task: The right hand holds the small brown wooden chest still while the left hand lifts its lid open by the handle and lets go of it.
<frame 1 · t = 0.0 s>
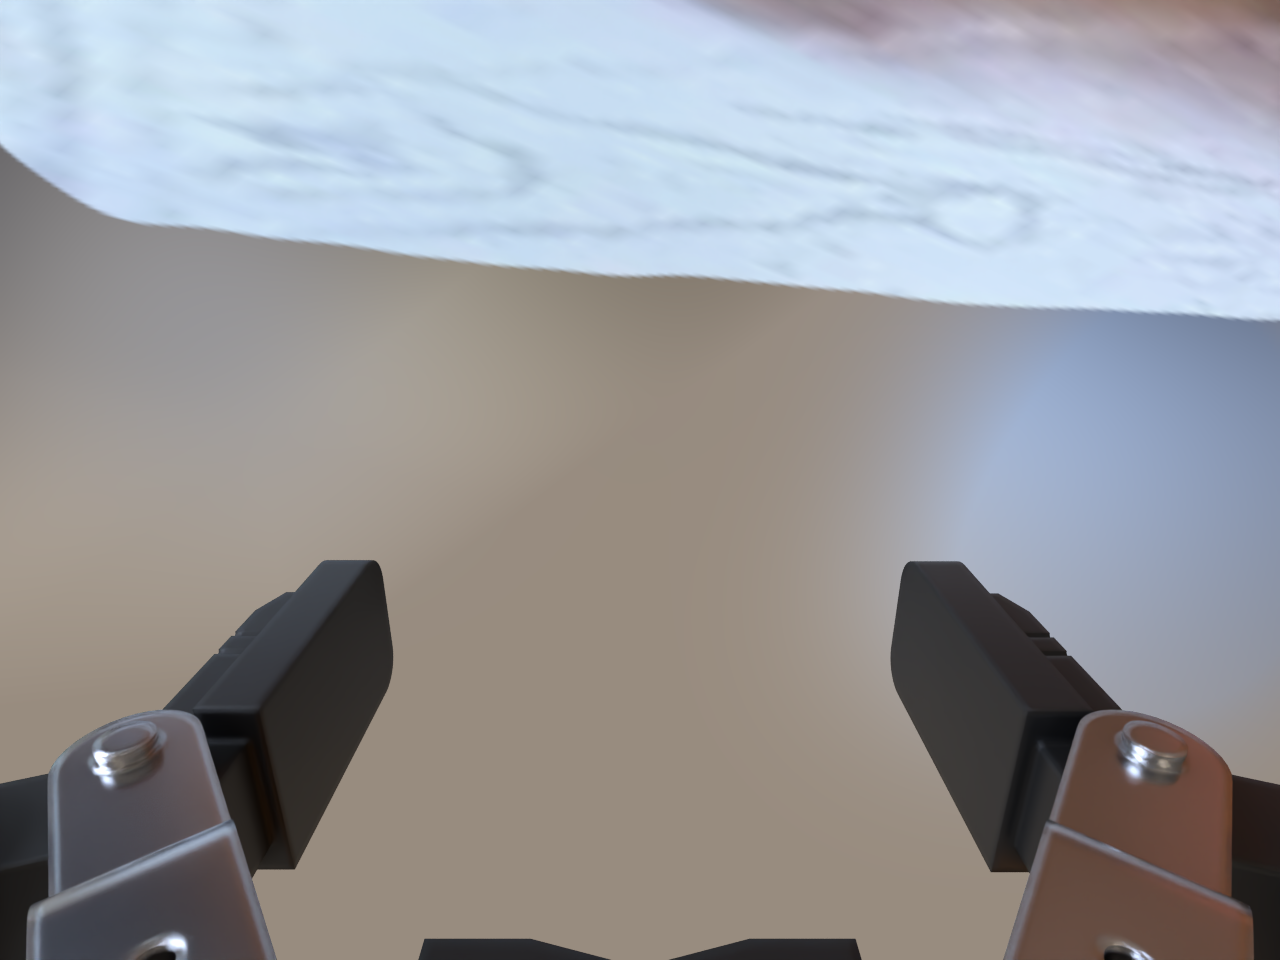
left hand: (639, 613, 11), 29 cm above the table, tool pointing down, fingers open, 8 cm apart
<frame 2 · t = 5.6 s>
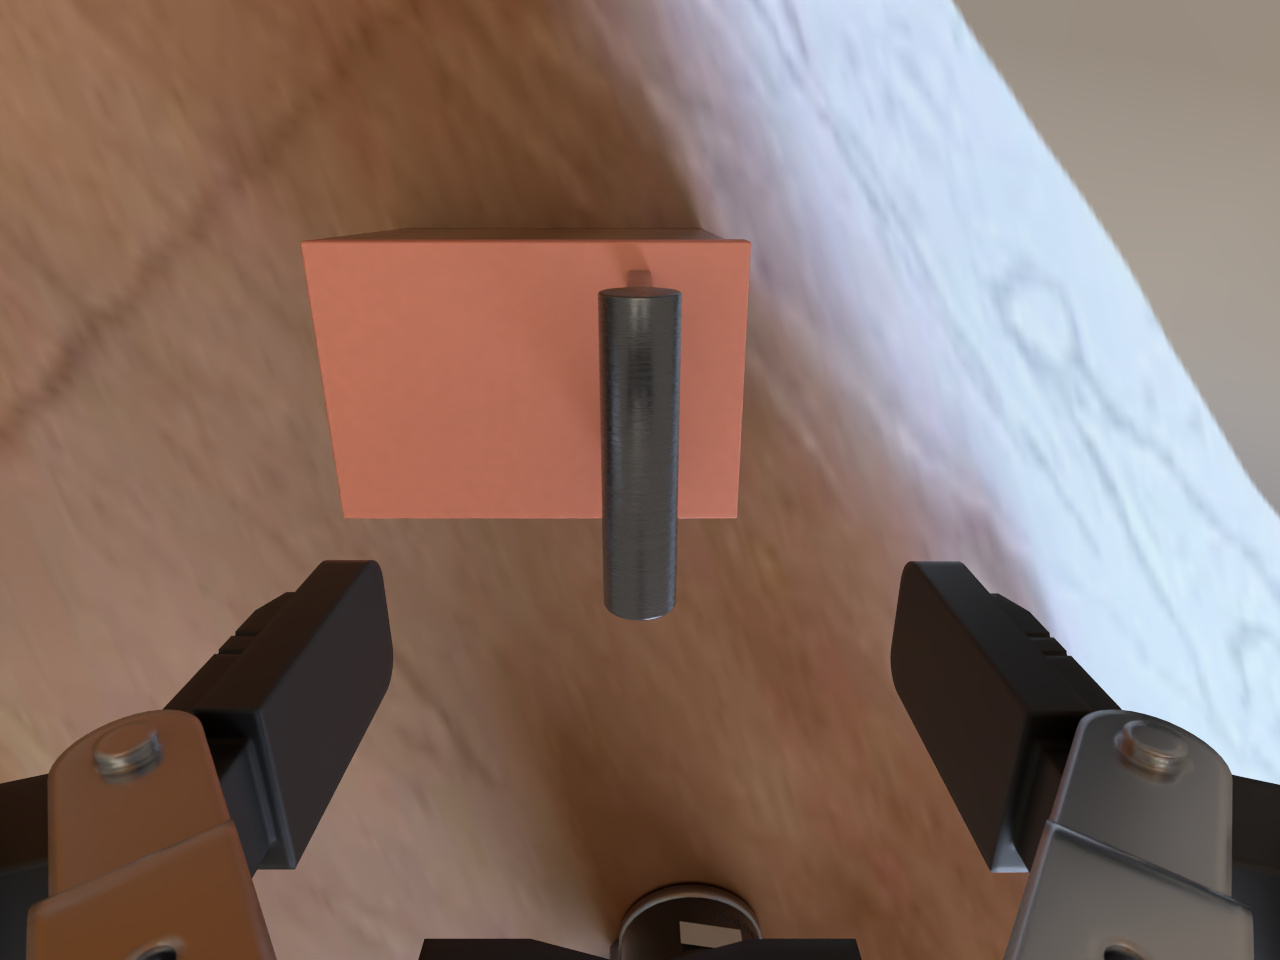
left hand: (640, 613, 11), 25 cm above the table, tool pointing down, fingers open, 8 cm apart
lid: (517, 417, 21), point 15 cm above the table, hinge at 0.0°
chest: (558, 333, 35), on the table
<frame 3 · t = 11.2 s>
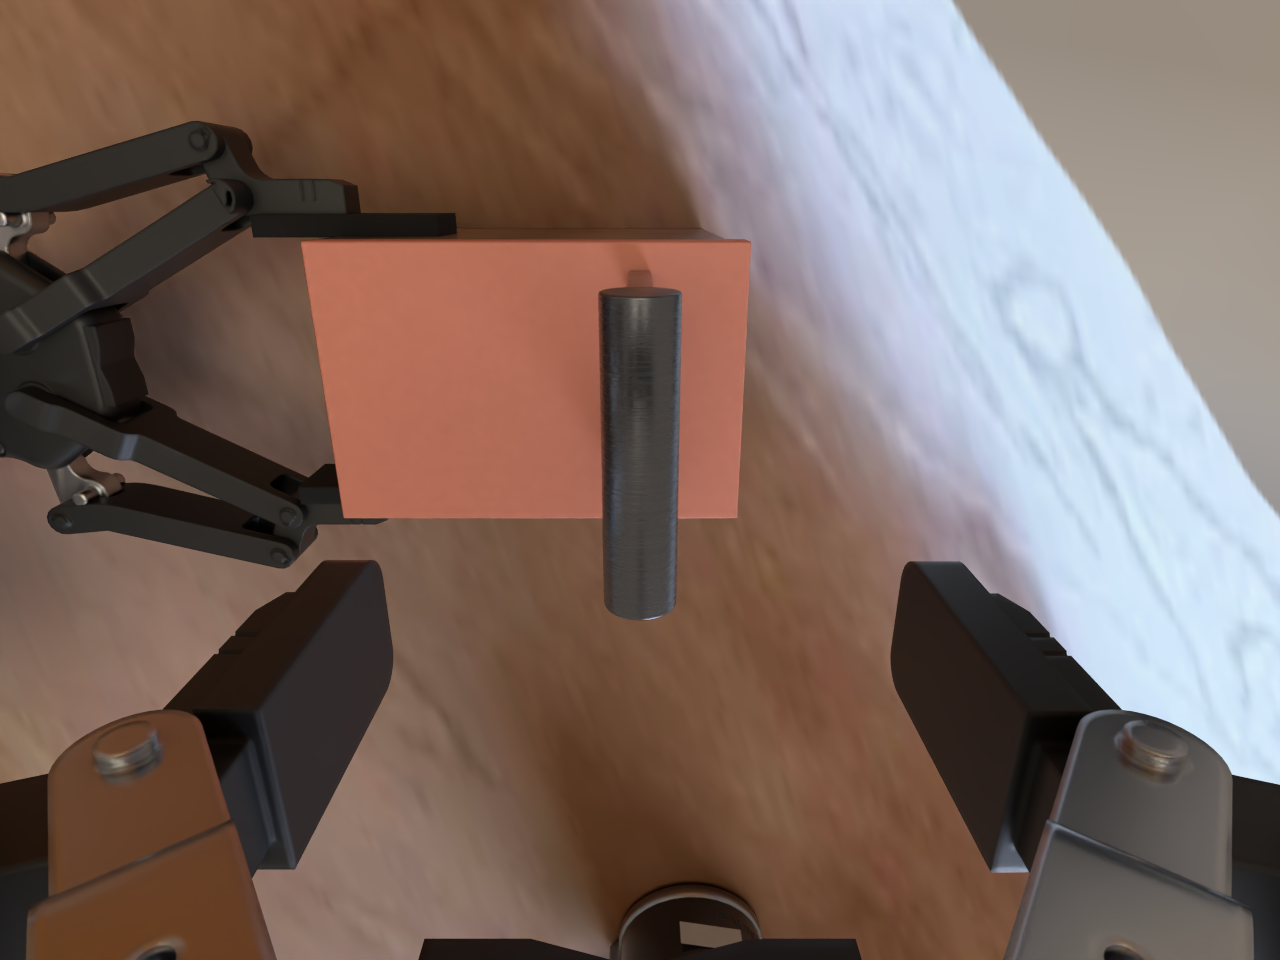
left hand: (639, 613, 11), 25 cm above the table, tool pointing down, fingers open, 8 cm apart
right hand: (459, 362, 29), fingers closed on chest, 9 cm apart
lid: (517, 417, 21), point 15 cm above the table, hinge at 0.0°
chest: (558, 333, 35), on the table, touching right hand
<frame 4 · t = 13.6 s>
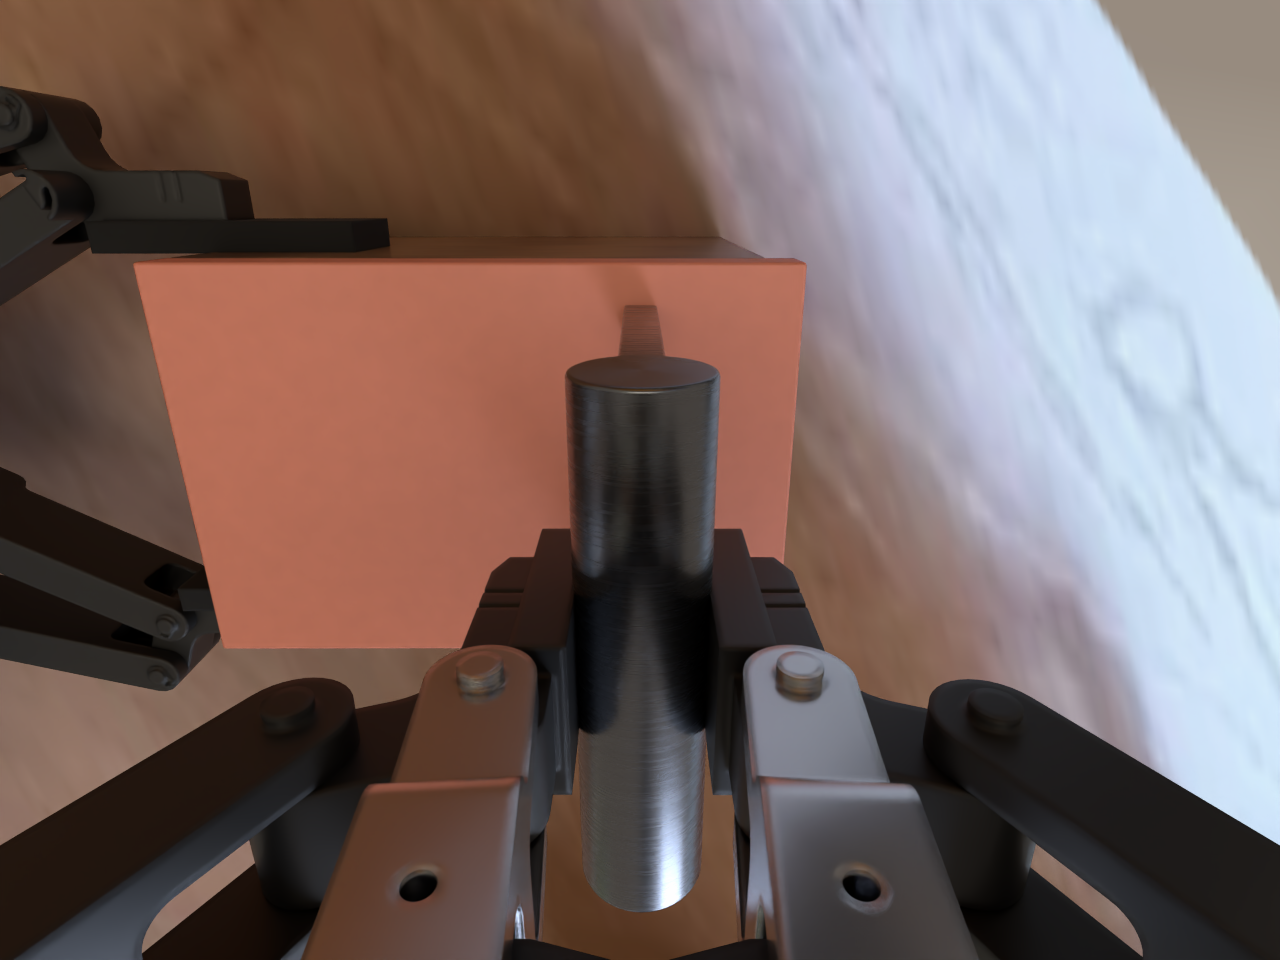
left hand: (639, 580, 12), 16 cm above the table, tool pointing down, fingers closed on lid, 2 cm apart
lid: (451, 538, 14), point 15 cm above the table, hinge at -0.1°, touching left hand
chest: (535, 370, 27), on the table, touching right hand
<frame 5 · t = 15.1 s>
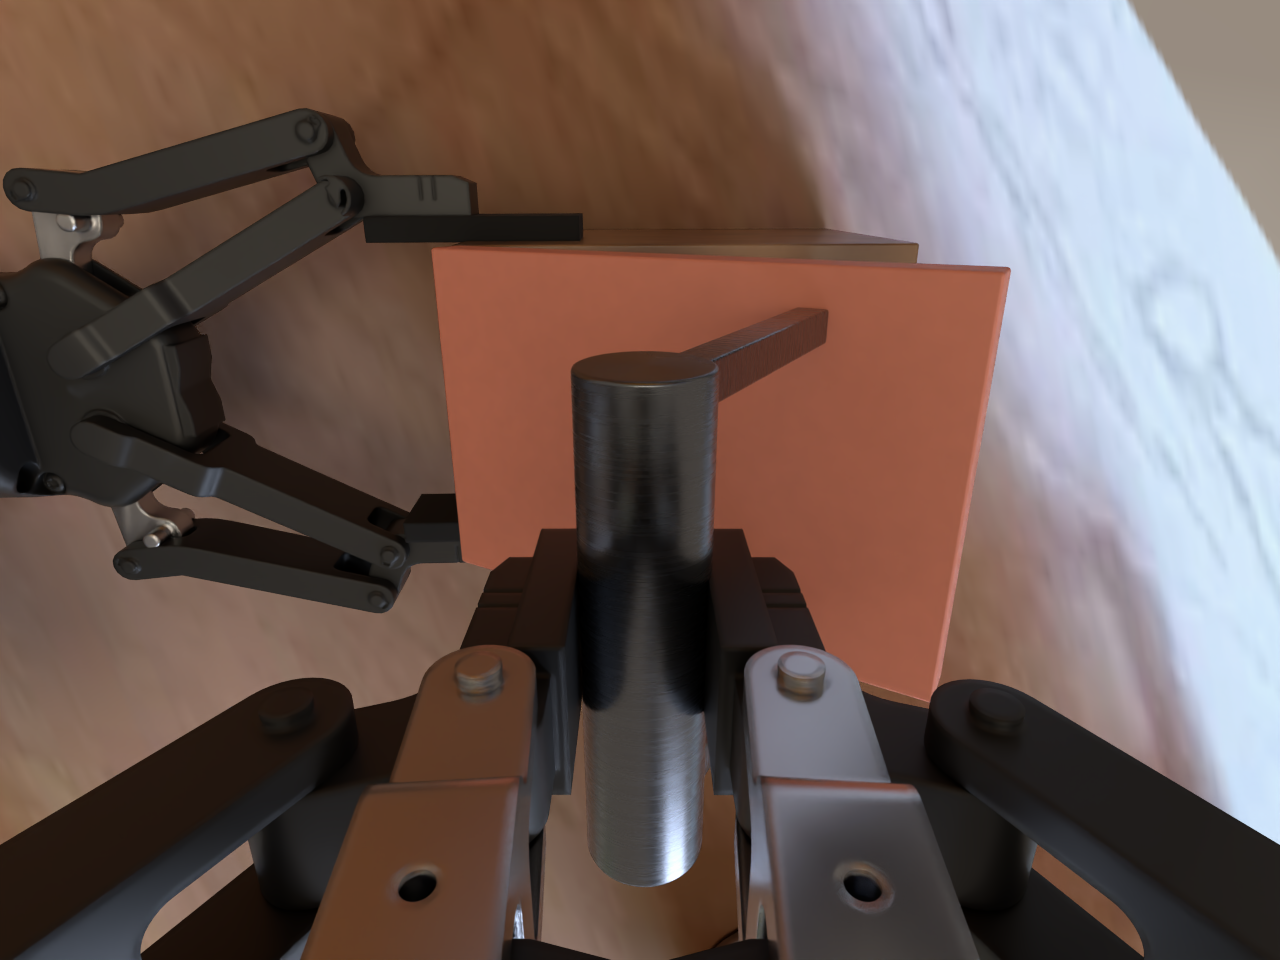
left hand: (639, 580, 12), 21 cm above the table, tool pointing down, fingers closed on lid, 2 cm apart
right hand: (585, 380, 26), fingers closed on chest, 9 cm apart
lid: (582, 503, 15), point 18 cm above the table, hinge at 31.6°, touching left hand
chest: (664, 344, 32), on the table, touching right hand
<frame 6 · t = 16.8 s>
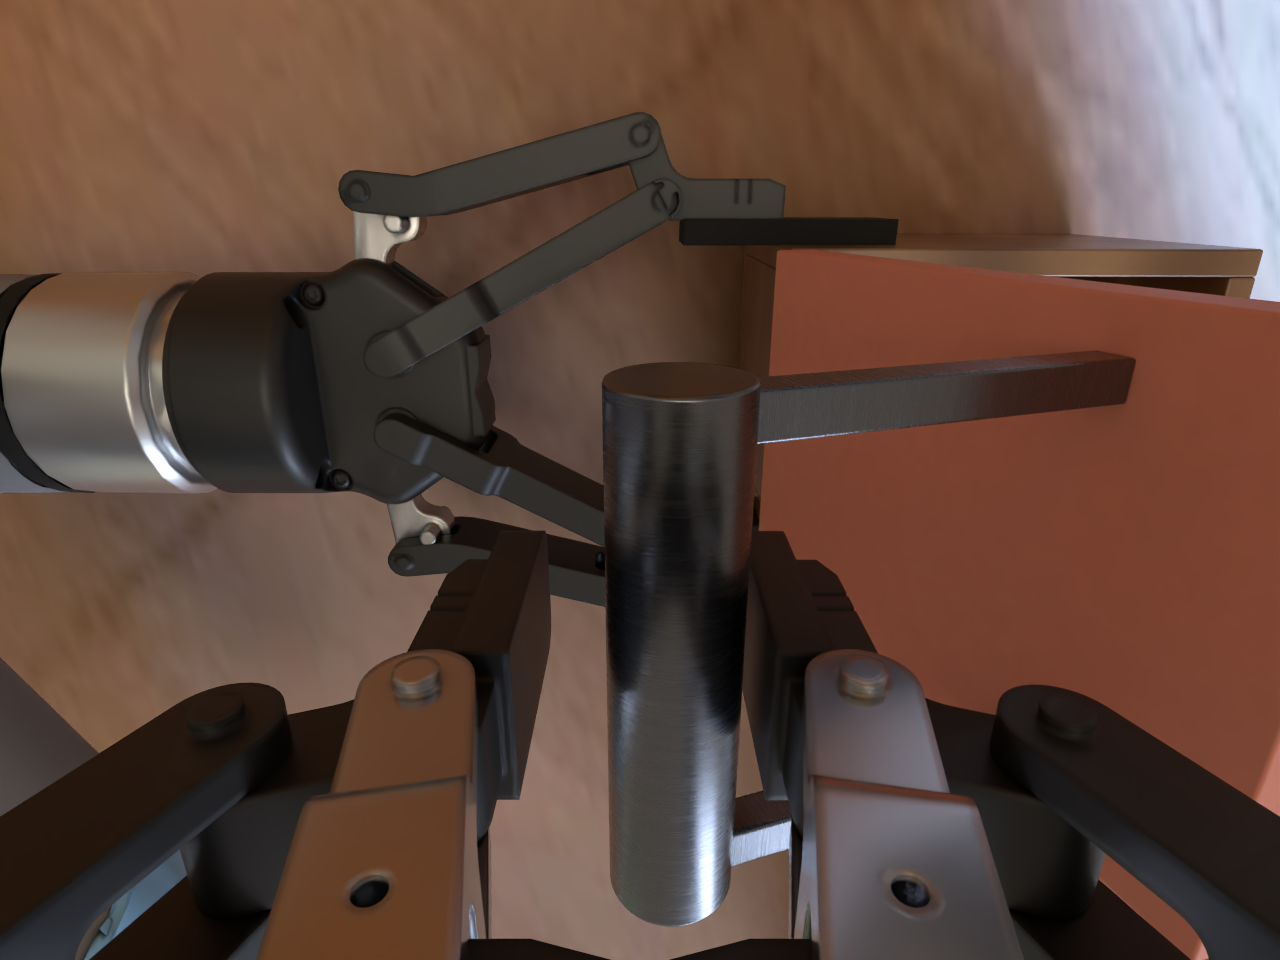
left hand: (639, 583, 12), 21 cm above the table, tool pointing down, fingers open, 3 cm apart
right hand: (865, 385, 26), fingers closed on chest, 9 cm apart
lid: (780, 525, 14), point 18 cm above the table, hinge at 70.9°
chest: (894, 349, 32), on the table, touching right hand
when the right hand's fingers open (7 cm above the table, at t = 20.7 s): chest stays where it is, on the table.
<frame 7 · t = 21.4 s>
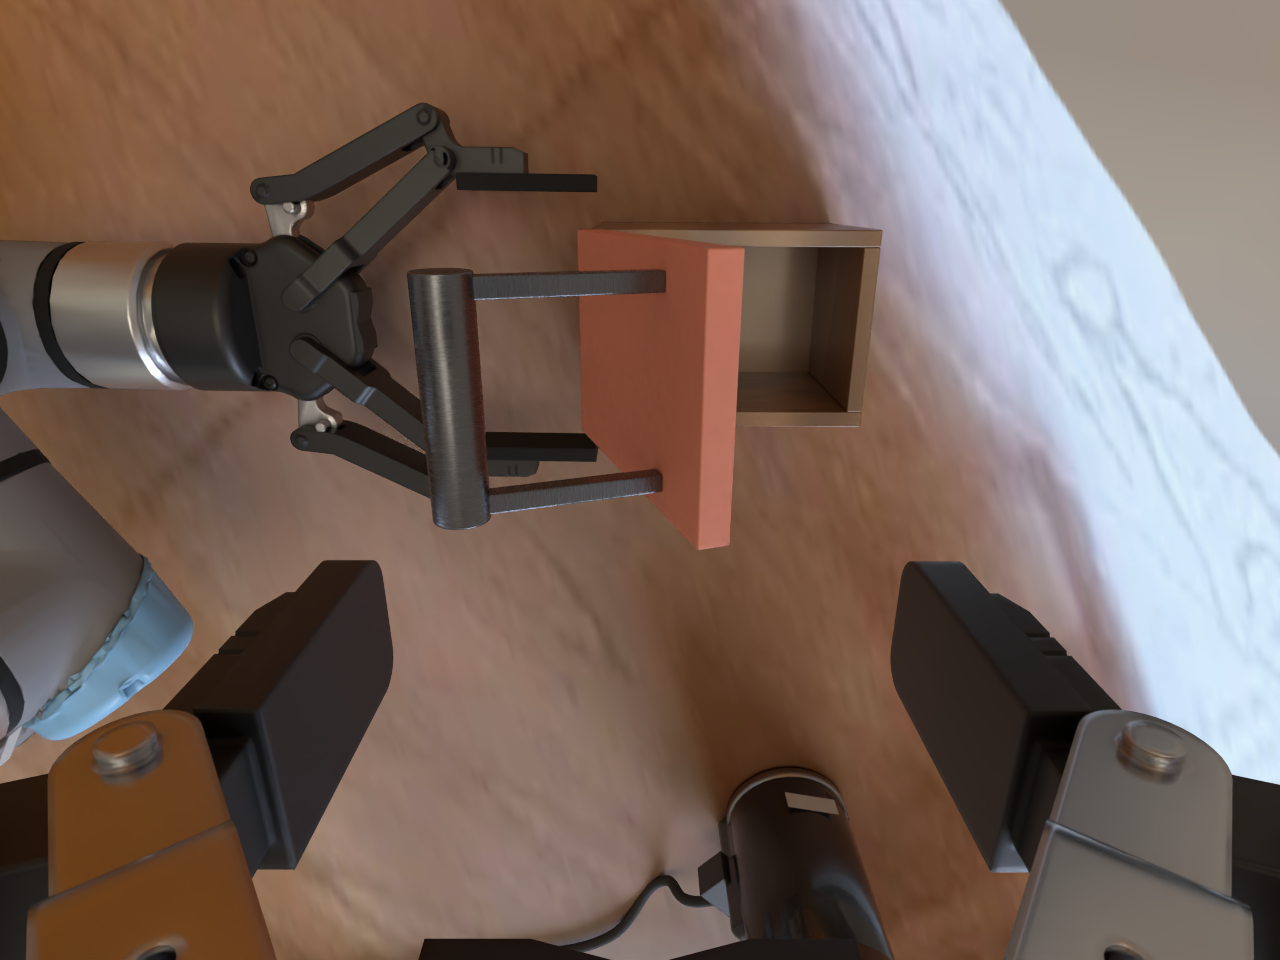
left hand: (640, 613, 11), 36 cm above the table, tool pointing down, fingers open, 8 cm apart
right hand: (597, 323, 38), fingers open, 13 cm apart
lid: (541, 370, 27), point 18 cm above the table, hinge at 70.3°
chest: (712, 305, 45), on the table
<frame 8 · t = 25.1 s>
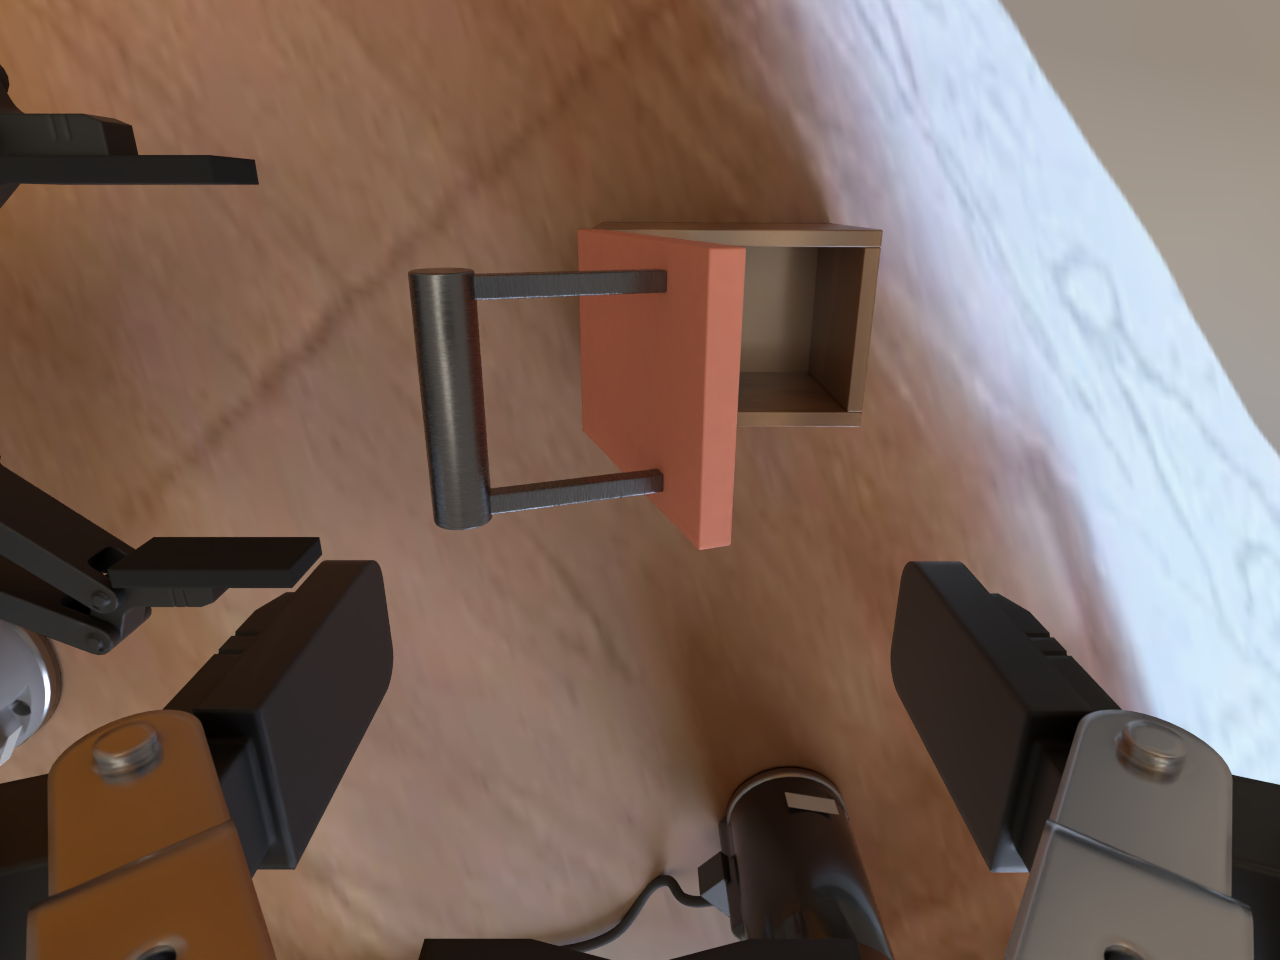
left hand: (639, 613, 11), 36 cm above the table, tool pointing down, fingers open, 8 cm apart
lid: (541, 370, 27), point 18 cm above the table, hinge at 70.3°
chest: (712, 305, 45), on the table
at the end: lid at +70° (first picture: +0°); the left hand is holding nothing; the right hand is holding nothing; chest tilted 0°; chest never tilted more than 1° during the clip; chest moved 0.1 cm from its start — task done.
